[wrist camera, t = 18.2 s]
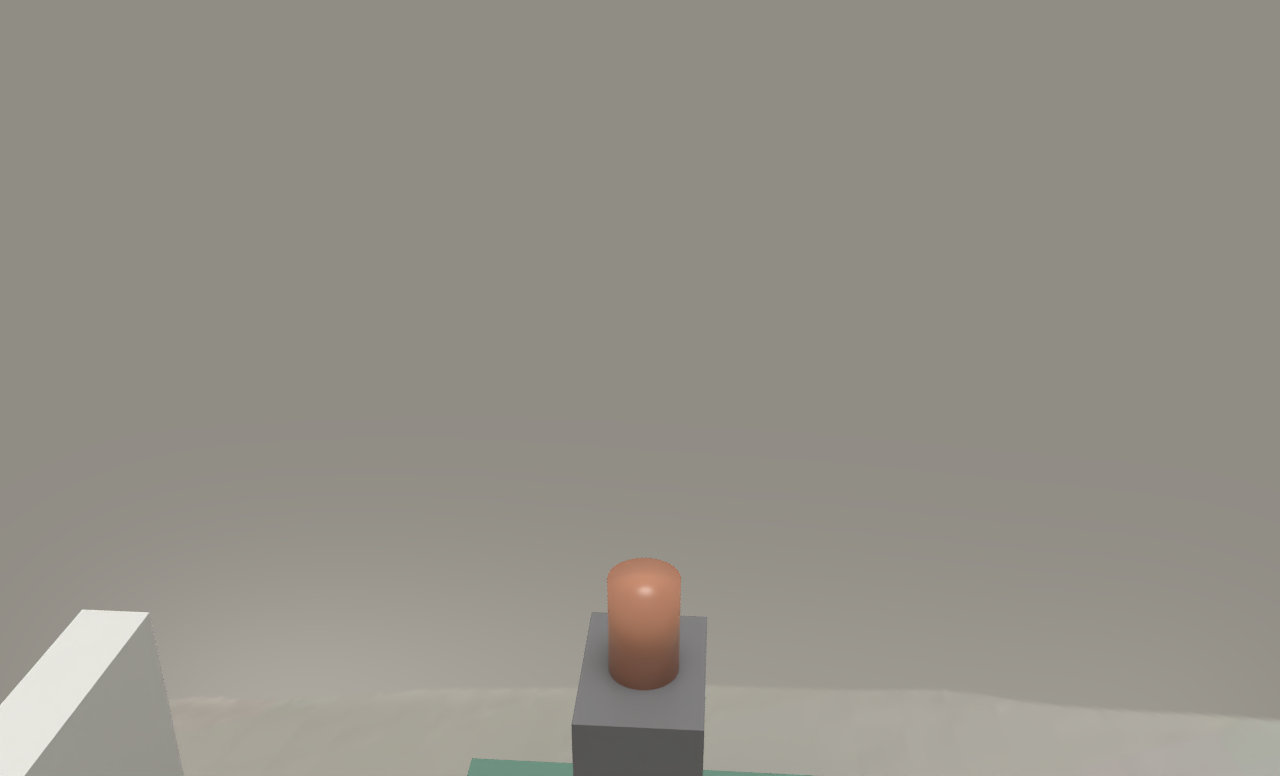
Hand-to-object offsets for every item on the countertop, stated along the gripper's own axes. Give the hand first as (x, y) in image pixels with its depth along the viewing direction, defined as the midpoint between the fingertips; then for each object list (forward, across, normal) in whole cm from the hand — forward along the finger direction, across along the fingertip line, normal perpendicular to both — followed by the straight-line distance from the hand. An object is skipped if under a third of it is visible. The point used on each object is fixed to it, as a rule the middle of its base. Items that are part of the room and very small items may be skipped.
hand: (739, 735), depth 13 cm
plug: (+16, -2, -28) cm, 32 cm away
